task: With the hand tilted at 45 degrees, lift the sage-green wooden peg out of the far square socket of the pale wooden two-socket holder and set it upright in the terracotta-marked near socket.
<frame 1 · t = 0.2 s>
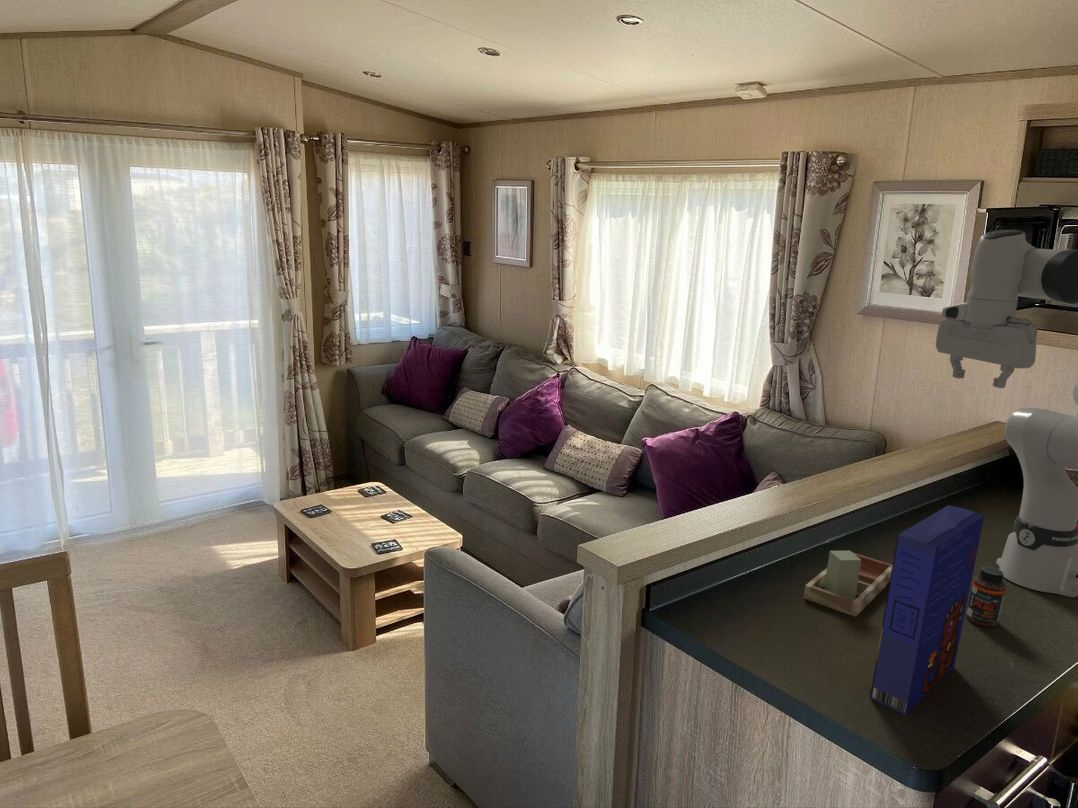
hand: (977, 382, 161), 48 cm above the worktop, tool pointing down, fingers open, 8 cm apart
cereal box: (913, 683, 141), on the worktop
sage peg: (838, 598, 171), resting in two-socket holder
two-socket holder: (850, 587, 176), on the worktop
supplement bottle: (981, 621, 164), on the worktop
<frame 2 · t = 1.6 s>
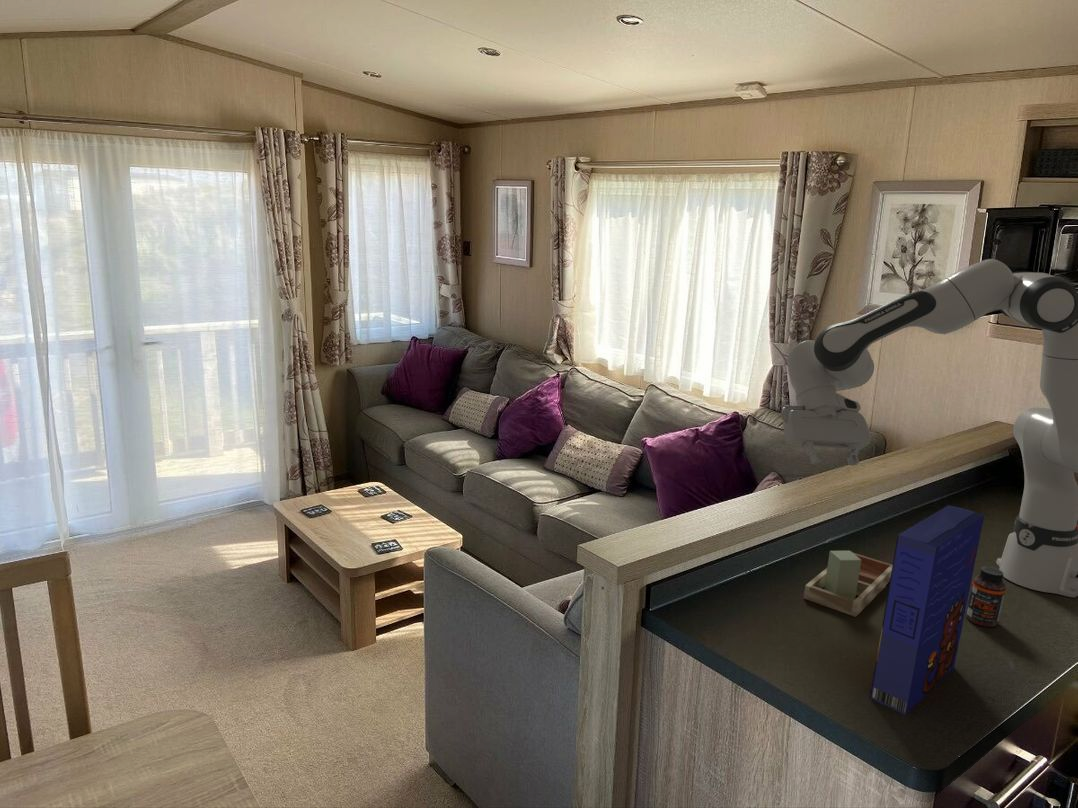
hand: (835, 463, 174), 27 cm above the worktop, tool tilted 45°, fingers open, 8 cm apart
nothing on the worktop moved.
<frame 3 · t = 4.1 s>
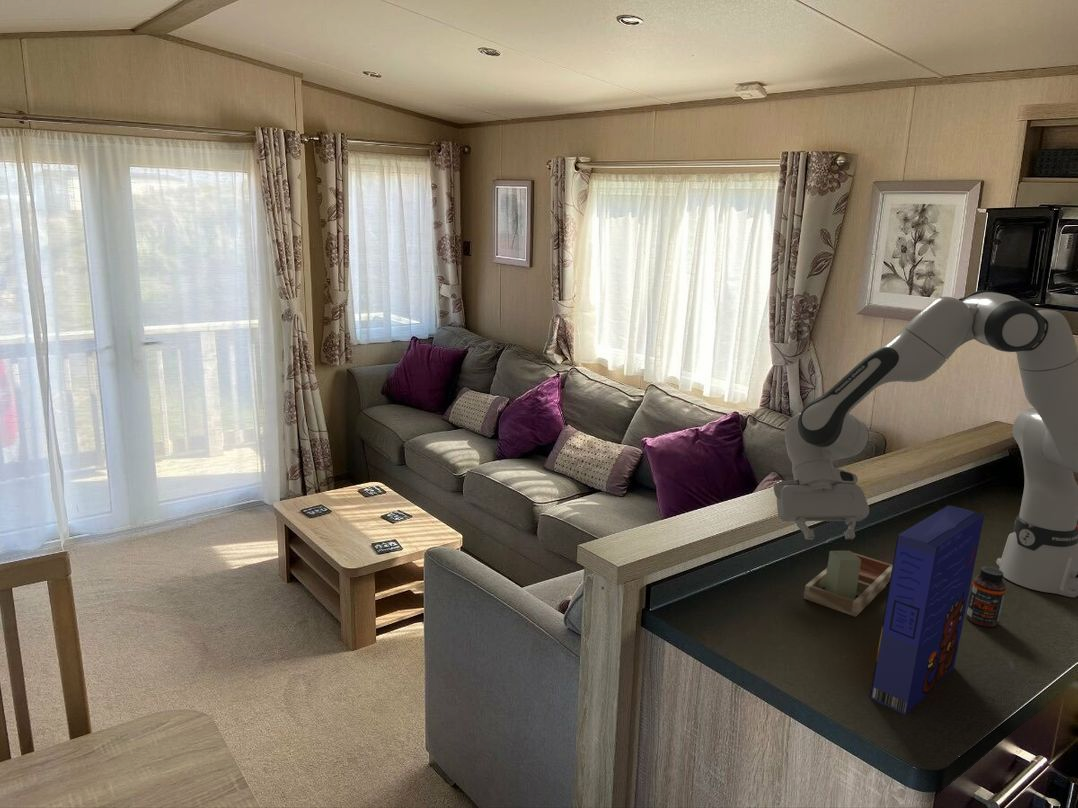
hand: (830, 538, 174), 11 cm above the worktop, tool tilted 45°, fingers open, 8 cm apart
nothing on the worktop moved.
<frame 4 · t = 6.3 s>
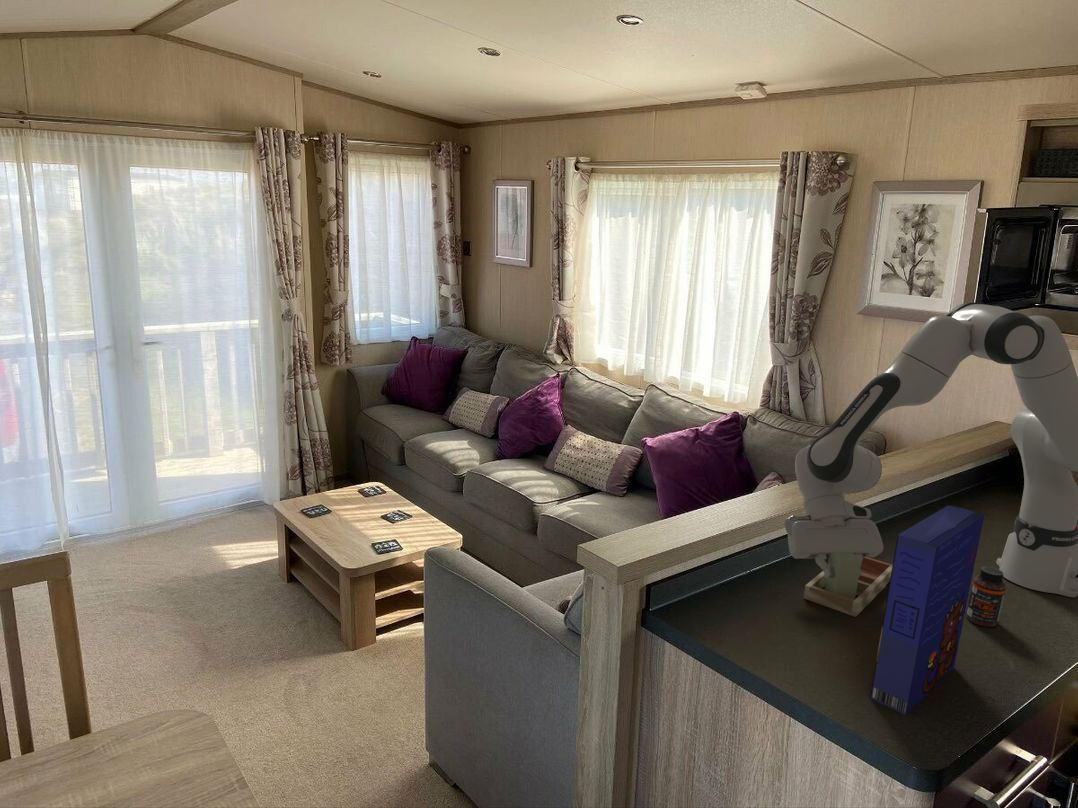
hand: (843, 576, 169), 5 cm above the worktop, tool tilted 45°, fingers closed on sage peg, 5 cm apart
sage peg: (838, 598, 171), resting in two-socket holder, touching gripper
everything else where it was.
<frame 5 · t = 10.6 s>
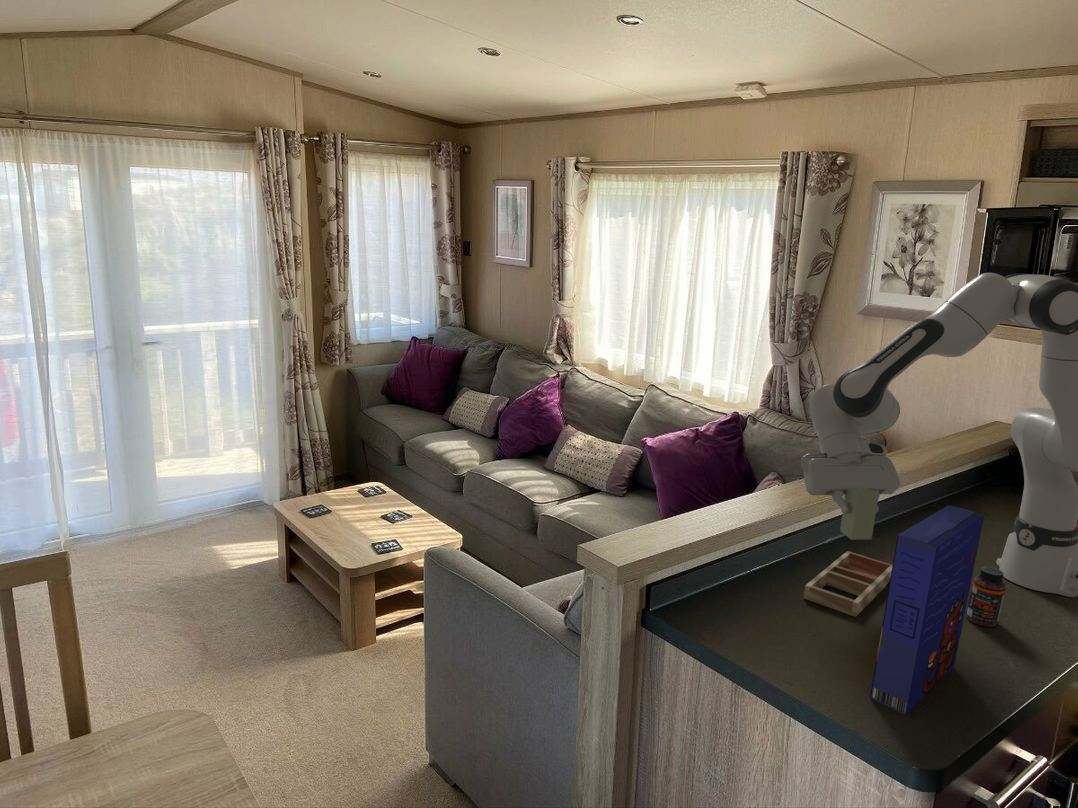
hand: (860, 512, 168), 19 cm above the worktop, tool tilted 45°, fingers closed on sage peg, 5 cm apart
sage peg: (855, 535, 170), point 13 cm above the worktop, touching gripper
everything else where it was.
when the fingers open (7 cm above the worktop, at t = 14.9 s): sage peg drops 1 cm, resting on two-socket holder.
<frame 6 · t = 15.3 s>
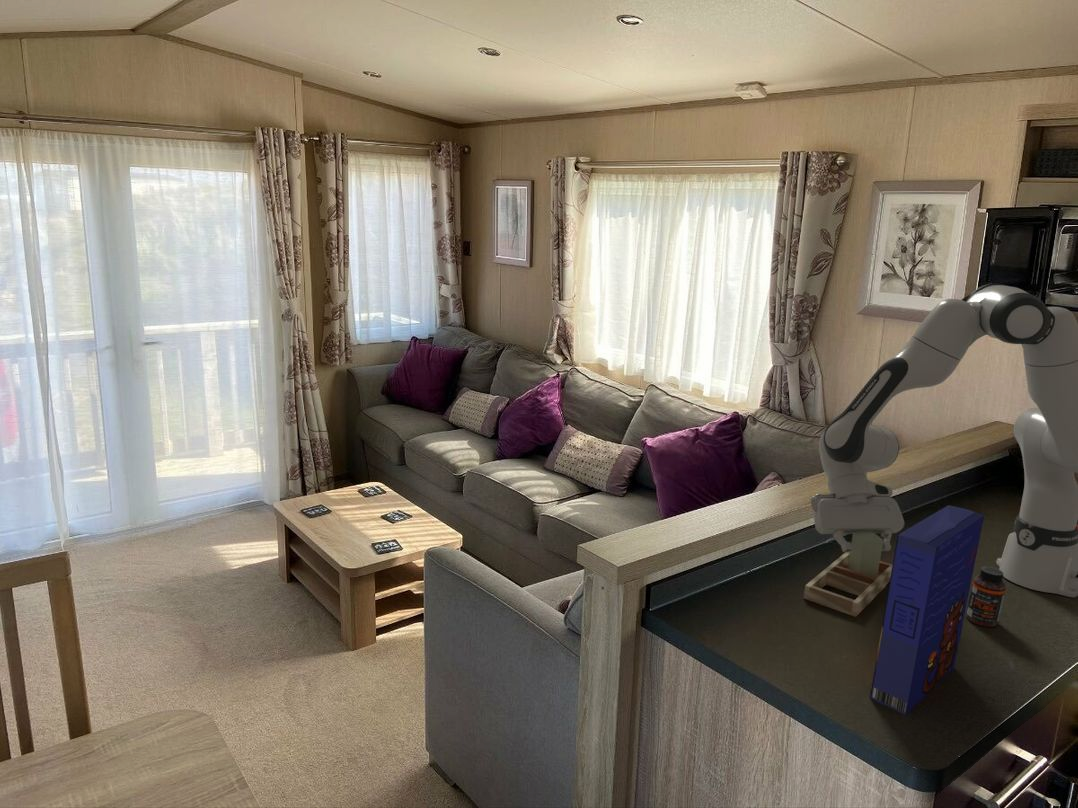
hand: (867, 550, 179), 7 cm above the worktop, tool tilted 45°, fingers open, 8 cm apart
sage peg: (861, 576, 181), resting on two-socket holder
everything else where it was.
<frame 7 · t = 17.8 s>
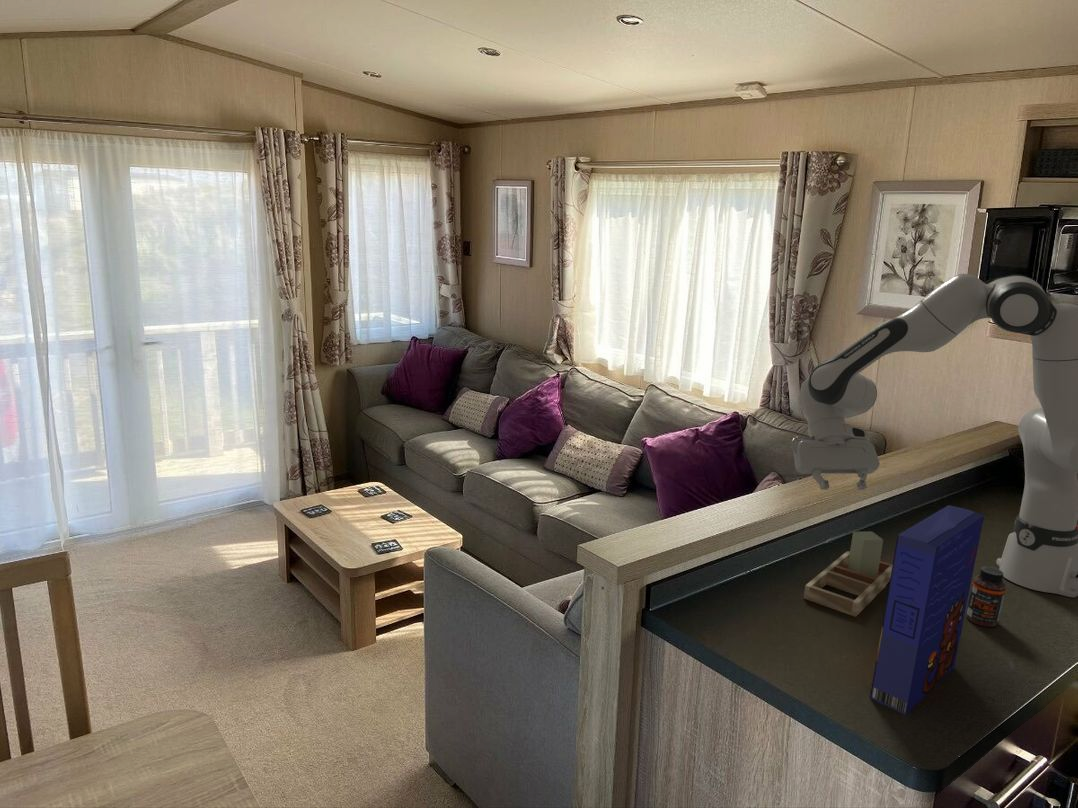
hand: (844, 488, 189), 17 cm above the worktop, tool tilted 45°, fingers open, 8 cm apart
nothing on the worktop moved.
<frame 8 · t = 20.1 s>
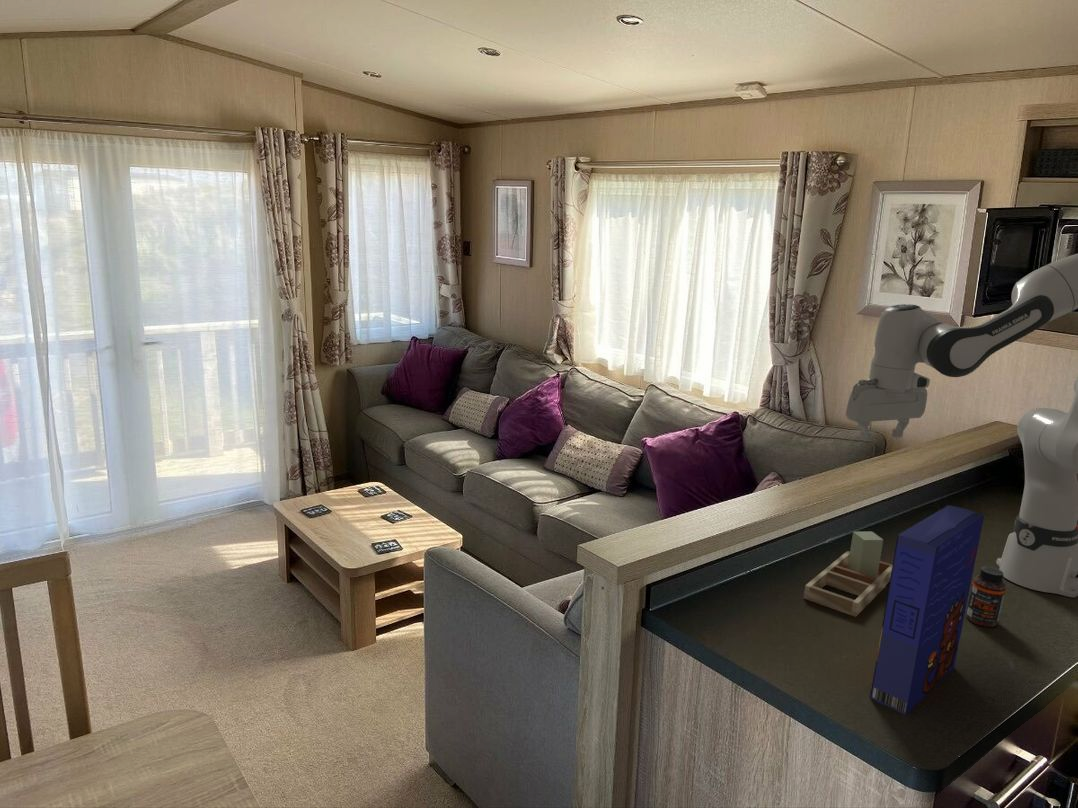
hand: (881, 438, 179), 31 cm above the worktop, tool pointing down, fingers open, 8 cm apart
nothing on the worktop moved.
at the end: sage peg 0.1 cm from the target spot, resting on two-socket holder; sage peg tilted 0°; the gripper is holding nothing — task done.
